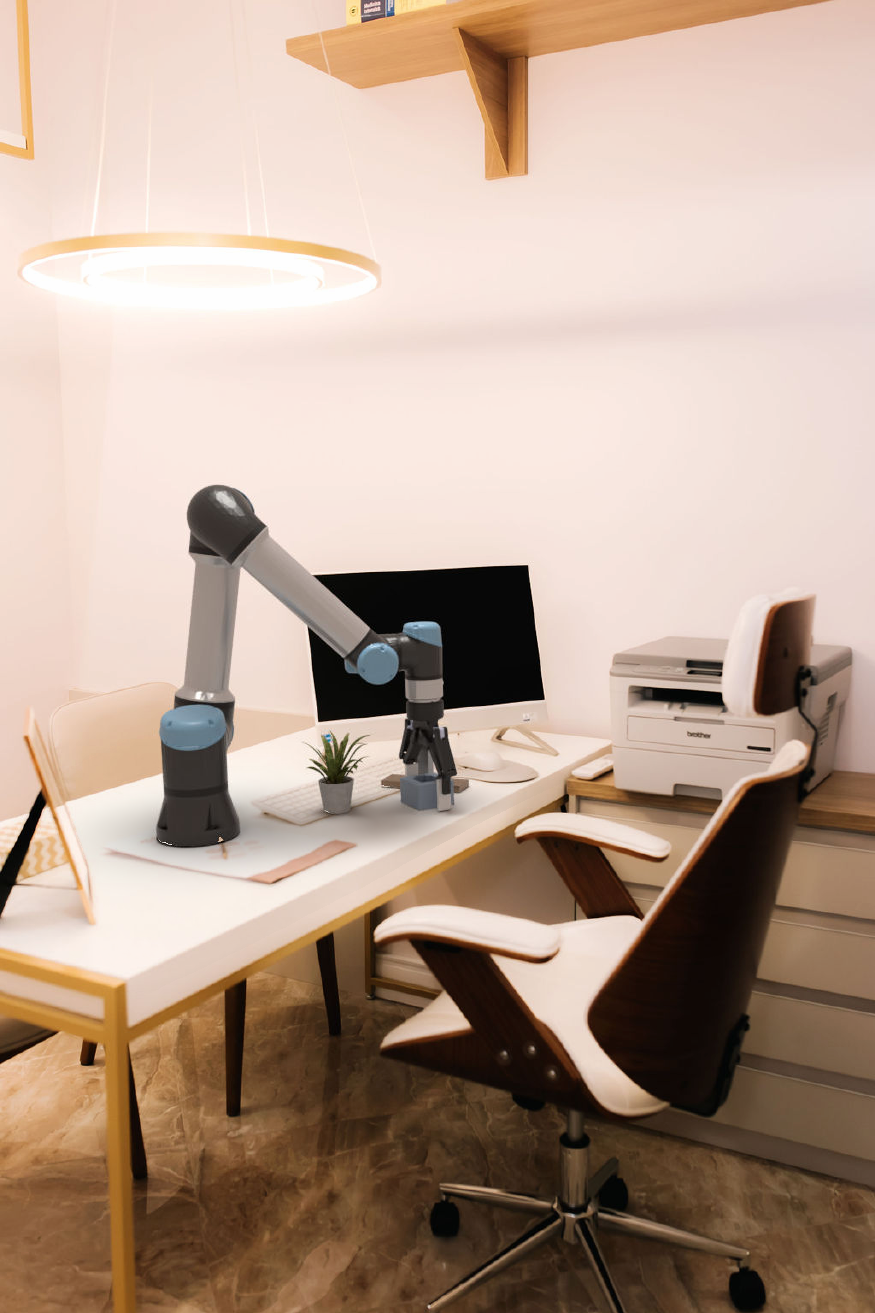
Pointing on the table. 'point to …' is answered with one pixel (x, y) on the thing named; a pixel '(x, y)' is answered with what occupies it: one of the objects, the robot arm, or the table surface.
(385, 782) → the keyed post
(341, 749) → the house plant
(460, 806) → the table surface
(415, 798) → the blue-grey hollow block
